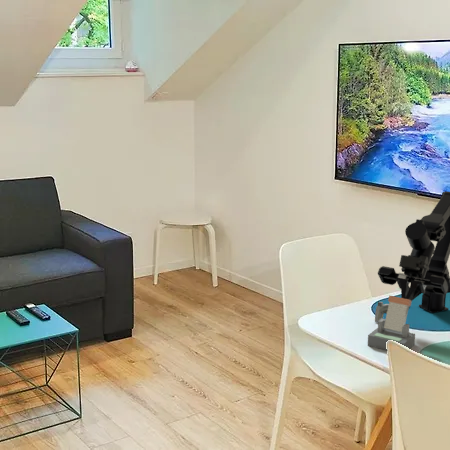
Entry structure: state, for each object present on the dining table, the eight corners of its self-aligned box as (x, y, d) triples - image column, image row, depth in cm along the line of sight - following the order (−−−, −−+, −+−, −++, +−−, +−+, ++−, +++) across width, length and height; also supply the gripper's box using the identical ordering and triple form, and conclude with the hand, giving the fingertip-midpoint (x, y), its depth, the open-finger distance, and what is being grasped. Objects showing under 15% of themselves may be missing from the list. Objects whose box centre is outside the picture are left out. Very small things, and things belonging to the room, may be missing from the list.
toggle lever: (385, 328, 195) (391, 296, 196) (404, 332, 192) (411, 300, 193) (382, 327, 193) (389, 295, 194) (402, 331, 190) (409, 299, 191)
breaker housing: (379, 336, 199) (380, 315, 197) (414, 344, 193) (415, 323, 192) (367, 345, 192) (368, 324, 191) (403, 354, 187) (404, 332, 185)
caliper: (378, 324, 208) (379, 303, 206) (374, 323, 209) (375, 303, 207) (409, 305, 223) (410, 286, 222) (405, 305, 224) (407, 285, 222)
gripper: (382, 238, 202) (363, 286, 196) (448, 248, 192) (431, 299, 186) (391, 259, 210) (374, 305, 204) (454, 269, 200) (438, 318, 194)
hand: (403, 306), depth 197 cm, fingers closed
